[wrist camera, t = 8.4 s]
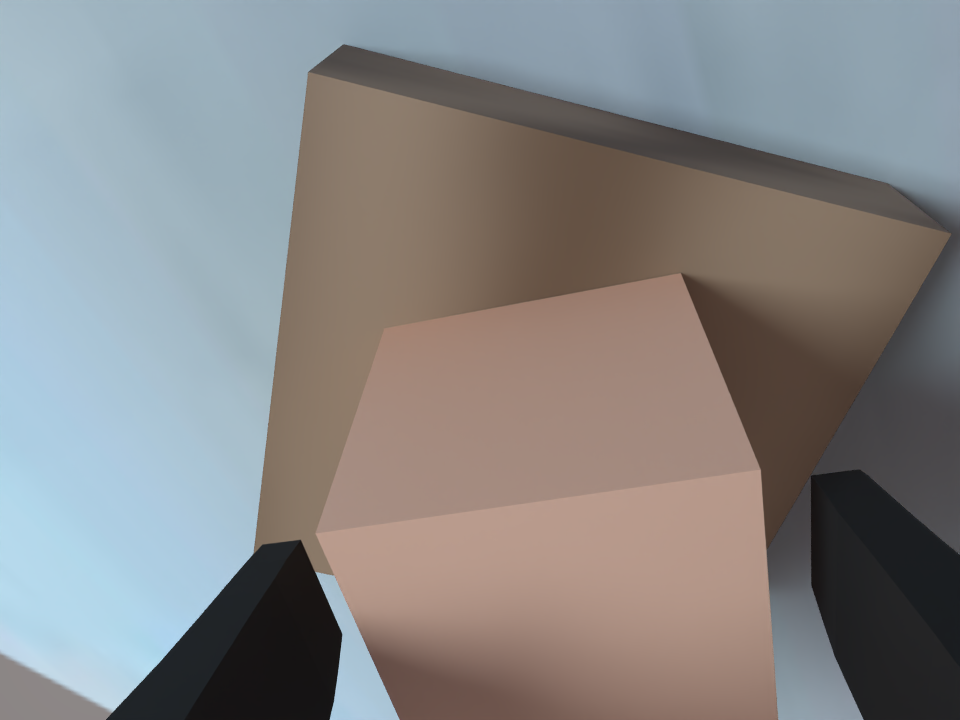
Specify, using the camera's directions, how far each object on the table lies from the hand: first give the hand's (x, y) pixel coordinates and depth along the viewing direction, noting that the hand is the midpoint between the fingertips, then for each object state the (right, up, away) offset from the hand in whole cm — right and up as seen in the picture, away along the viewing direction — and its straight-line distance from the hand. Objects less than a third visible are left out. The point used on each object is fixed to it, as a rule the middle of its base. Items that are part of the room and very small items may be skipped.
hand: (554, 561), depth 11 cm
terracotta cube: (0, +2, +3) cm, 4 cm away
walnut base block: (0, +3, +6) cm, 6 cm away
